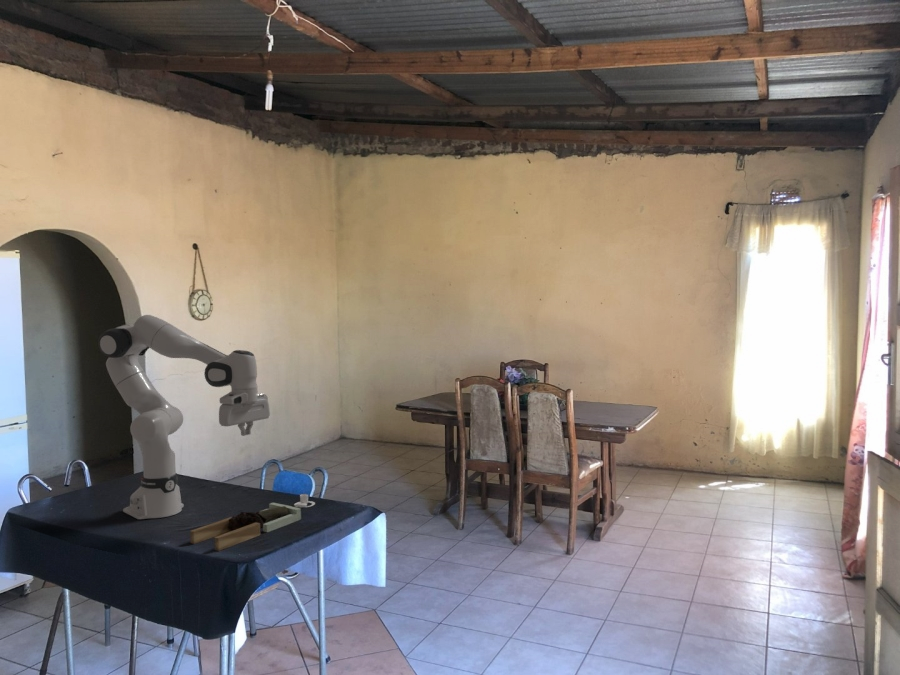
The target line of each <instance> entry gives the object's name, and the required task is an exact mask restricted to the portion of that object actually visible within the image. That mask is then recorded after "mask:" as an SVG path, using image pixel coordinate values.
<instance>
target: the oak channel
mask: <svg viewBox="0 0 900 675" xmlns="http://www.w3.org/2000/svg"><path fill="white" fill-rule="evenodd" d="M232 517H233V516H230V517H227V518H224V519H221V520H219V521H215V522H212V523H210V524H207V525H204V526H200V527H198V528H195V529H192V530H190V531H189V535H190V544H193V545H196V544H198V543H202V542H203V541H207V540H209V539H213V538H214V551H217V552H220V551H222V550H225V549H227V548H231V547H233V546H236V545H238V544H241V543H243V542H246V541H248V540H251V539H254V538H257V537H259V536H261V528H260V523H257V522H256V523H253V524H250V525H247V526H245V527H242V528H239V529H236V530H234V531H231V529H228V526H229V522H230V521H229V519H230V518H232Z"/></svg>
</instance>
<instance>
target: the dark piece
mask: <svg viewBox="0 0 900 675" xmlns="http://www.w3.org/2000/svg"><path fill="white" fill-rule="evenodd" d="M267 509H268V508H267ZM286 515H288V510H287V508H286V507H285V506H282V507H277V508H273V509H268V510H265V509H263V511H262V510H259V511H257V512H255V511H254V512H251V511H246V512H244V511H240V513H238V514H236V515H235V516H233V515H232V516H231V517H232V518H230V517H229V518H230V519H229V521H230V522H229V526H228V529H231V531H234V530H236V529H239V528H242V527H245V526H247V525H250V524H253V523H256V522H257V523H260V529H261V528H263V524H265V523H268V522H270V521H273V520H276V519H278V518H281V517H284V516H286ZM231 531H230V532H231Z"/></svg>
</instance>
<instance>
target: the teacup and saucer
mask: <svg viewBox="0 0 900 675" xmlns="http://www.w3.org/2000/svg"><path fill="white" fill-rule="evenodd" d="M299 500H300V501H298V502H296V503H294V504H293V507H297V508H301V509H302V508H303V509H304V508H310V507H313V506H315V505H316V502H315V501H310V500H309V494H307V493H303V494H300V495H299ZM308 503H310V504H311V505H308Z"/></svg>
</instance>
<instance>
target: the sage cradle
mask: <svg viewBox="0 0 900 675" xmlns="http://www.w3.org/2000/svg"><path fill="white" fill-rule="evenodd" d="M268 506H269V508H265V509H263V510H268V509H273V508H277V507H282V506H285V507H286V508H287V510H288V515H286V516H284V517H281V518H278V519H276V520H273V521H270V522H268V523H265V524H263V525H262V532H264V533H270V532H272V531H274V530H277V529H279V528H282V527H285V526H288V525H290V524H292V523H295V522H299V521H300V520H302V511H301V510H302V508H301V507H295V506H291V505H287V504H281V503H277V502H270V503H268ZM263 510H261V511H263Z"/></svg>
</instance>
